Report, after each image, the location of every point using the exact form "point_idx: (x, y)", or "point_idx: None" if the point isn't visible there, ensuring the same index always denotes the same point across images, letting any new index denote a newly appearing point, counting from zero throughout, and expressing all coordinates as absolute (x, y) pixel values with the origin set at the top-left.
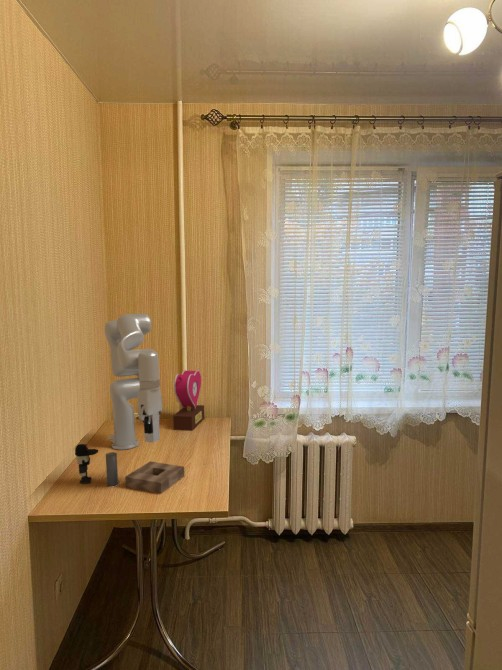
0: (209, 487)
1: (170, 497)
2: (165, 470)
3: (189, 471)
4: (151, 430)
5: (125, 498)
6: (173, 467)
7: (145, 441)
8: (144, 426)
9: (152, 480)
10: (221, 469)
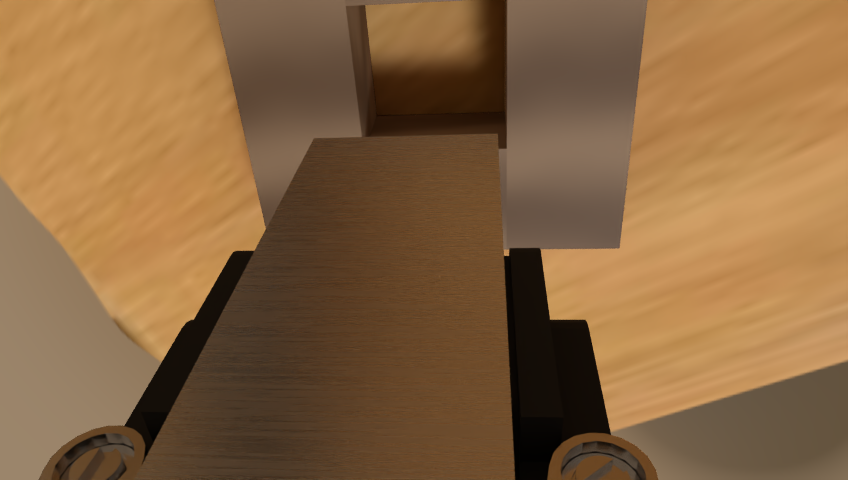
0: None
1: None
2: None
3: (712, 189)
4: None
5: (87, 20)
6: (574, 179)
7: (316, 147)
8: (188, 346)
9: (270, 169)
10: (794, 362)
